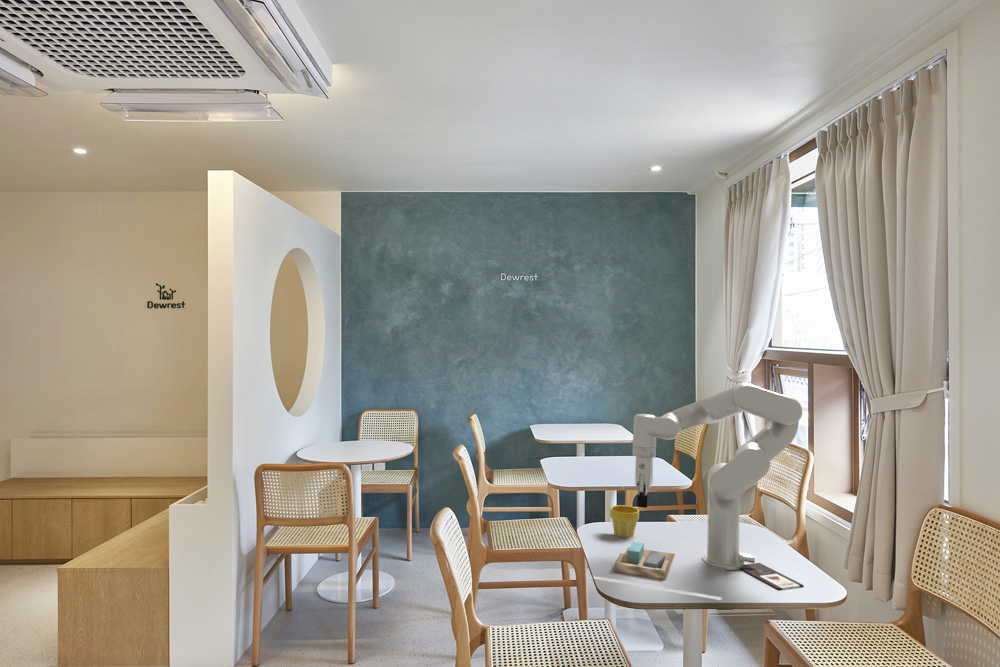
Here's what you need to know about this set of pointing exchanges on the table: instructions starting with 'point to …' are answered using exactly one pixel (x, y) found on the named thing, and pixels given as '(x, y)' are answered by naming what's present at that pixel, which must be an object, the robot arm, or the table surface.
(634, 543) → the aqua foam brick
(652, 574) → the comb board
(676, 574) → the table surface
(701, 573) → the table surface
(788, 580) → the chocolate bar
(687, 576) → the table surface
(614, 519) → the plant pot
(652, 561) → the grey rectangular block
